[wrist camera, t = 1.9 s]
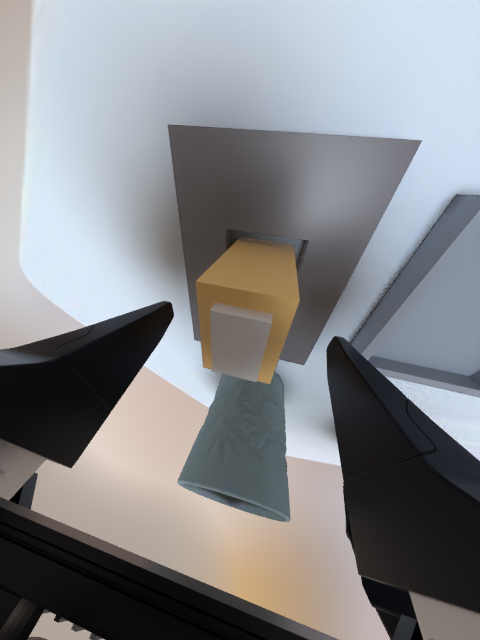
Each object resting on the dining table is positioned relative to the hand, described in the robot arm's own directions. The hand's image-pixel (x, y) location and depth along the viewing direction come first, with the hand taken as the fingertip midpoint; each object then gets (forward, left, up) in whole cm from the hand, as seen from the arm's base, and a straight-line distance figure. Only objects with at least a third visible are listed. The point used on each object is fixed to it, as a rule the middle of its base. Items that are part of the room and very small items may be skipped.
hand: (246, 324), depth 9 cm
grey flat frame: (0, 0, -6) cm, 6 cm away
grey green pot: (-16, -1, -7) cm, 17 cm away
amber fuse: (0, 0, -6) cm, 7 cm away
